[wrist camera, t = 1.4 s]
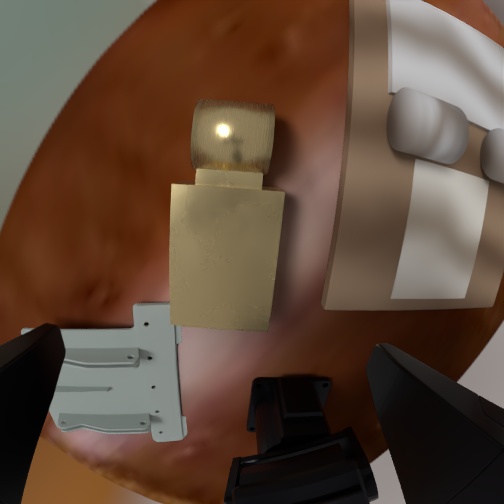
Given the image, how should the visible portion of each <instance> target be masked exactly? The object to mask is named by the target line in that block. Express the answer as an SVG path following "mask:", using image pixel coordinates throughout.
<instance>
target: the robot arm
mask: <svg viewBox="0 0 504 504" xmlns="http://www.w3.org/2000/svg"><path fill="white" fill-rule="evenodd" d="M65 355H66V349H65V345H64V341H63V337H62V334H61V330H60V328H59V326H57V325H54V324H49V323H45V324H43V325H41V326H39V327H37V328H35V329H33V330H31V331H29V332H27V333H25V334H23V335H21V336H19V337H17V338H15V339H13V340H11V341H9V342H7V343H5V344H3V345H1V346H0V504H21V501H22V496H23V492H24V488H25V484H26V480H27V476H28V473H29V469H30V465H31V462H32V458H33V455H34V452H35V449H36V446H37V442H38V439H39V436H40V433H41V430H42V427H43V425H44V422H45V419H46V416H47V413H48V411H49V408H50V405H51V403H52V400H53V397H54V393H55V390H56V386H57V382H58V379H59V375H60V372H61V369H62V365H63V362H64V359H65ZM366 373H367V377H368V381H369V385H370V389H371V393H372V397H373V401H374V405H375V409H376V413H377V416H378V419H379V422H380V425H381V428H382V431H383V434H384V437H385V439H386V442H387V445H388V448H389V451H390V454H391V457H392V460H393V463H394V466H395V470H396V473H397V476H398V479H399V482H400V485H401V489H402V492H403V495H404V499H405V502H406V504H504V409H503V408H501V407H499V406H497V405H496V404H494V403H492V402H490V401H488V400H486V399H485V398H483V397H481V396H478V395H477V394H476V393H474V392H472V391H471V390H469V389H467V388H465V387H463V386H462V385H460V384H458V383H457V382H455V381H453V380H451V379H450V378H448V377H446V376H445V375H443V374H441V373H439V372H438V371H436V370H434V369H432V368H431V367H429V366H427V365H425V364H424V363H422V362H420V361H419V360H417V359H415V358H413V357H412V356H410V355H408V354H407V353H405V352H403V351H401V350H400V349H398V348H396V347H395V346H393V345H391V344H389V343H381V344H376V345H375V346H374V348H373V351H372V353H371V356H370V358H369V361H368V363H367V367H366ZM324 383H326V384H324ZM256 384H260V385H256ZM330 387H331V382H330V379H329V378H294V379H276V378H257V379H254V380H253V382H252V388H251V395H250V403H249V411H248V419H247V431H249V432H256V439H257V450H258V454H257V455H252V456H247V457H242V458H241V457H236V458H233V461H232V466H231V468H230V473H229V478H228V483H227V488H226V492H225V497H224V504H370V503H369V502H371V501H374V500H376V499H378V490H377V485H376V482H375V478H374V475H373V472H372V469H371V466H370V464H369V461H368V459H367V457H366V455H365V453H364V451H363V449H362V447H361V445H360V443H359V441H358V439H357V437H356V435H355V433H354V431H353V430H352V428H351V427H348V428H346V429H344V430H343V431H340V432H338V433H335V434H331V431H330V428H329V425H328V422H327V419H326V416H325V413H324V410H323V408H324V405H325V402H326V399H327V396H328V393H329V390H330Z"/></svg>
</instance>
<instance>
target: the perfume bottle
mask: <svg viewBox="0 0 504 504" xmlns="http://www.w3.org/2000/svg"><path fill="white" fill-rule="evenodd" d="M274 128H275V108H274V105H271V104H262V103H252V102H241V101H227V100H209V99H199V100H198V101H197V104H196V107H195V112H194V117H193V124H192V134H191V163H192V168H193V169H196V181H179V182H176V183H173V184H172V190H171V213H170V256H169V285H170V325H177V326H188V327H200V328H213V329H228V330H246V331H268V330H269V322H270V315H271V307H272V299H273V291H274V283H275V275H276V267H277V259H278V251H279V242H280V234H281V225H282V216H283V207H284V198H285V192H284V191H282V190H281V189H279V188H277V187H267V186H262V181H263V174H265V175H266V174H267V173H268V170H269V166H270V161H271V155H272V148H273V139H274Z"/></svg>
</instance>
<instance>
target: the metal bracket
mask: <svg viewBox="0 0 504 504" xmlns="http://www.w3.org/2000/svg"><path fill="white" fill-rule="evenodd" d="M133 317H134V326H133V327H132V328H123V329H60V330H61V334H62V337H63V341H64V345H65V349H66V355H65V359H64V362H63V365H62V369H61V372H60V375H59V379H58V382H57V386H56V390H55V393H54V397H53V400H52V403H51V405H50V408H49V411H50V413H51V416H52V418H53V420H54V422H55V424H56V426H57V427H58V428H60V430H61V431H62V432H71V431H75V430H79V429H85V430H92V431H96V432H101V433H106V434H134V433H147V432H149V431H150V430H151V432H152V437H153V440H155V441H156V442H164V441H176V440H182V439H183V438H184V437H185V436H186V435H187V424H186V417H184V416H182V414H181V404H180V392H179V379H178V364H177V344H178V343H180V342H182V336H181V332H182V326H177V325H170V302H163V303H137V304H135V305H134V306H133ZM145 322H148V323H149V325H147V326H146V325H144V323H145ZM33 329H35V328H23V329H22V331H21V334H22V335H23V334H25V333H27V332H29V331H31V330H33ZM149 356H150V357H152V359H148V357H149ZM152 386H156V387H155V388H153V387H152ZM157 410H158V411H159V412H156V411H157ZM160 431H162V432H160Z"/></svg>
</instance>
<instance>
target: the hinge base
mask: <svg viewBox="0 0 504 504" xmlns="http://www.w3.org/2000/svg"><path fill="white" fill-rule="evenodd" d="M349 19H350V25H349V71H348V91H347V108H346V121H345V134H344V145H343V155H342V165H341V174H340V183H339V191H338V199H337V207H336V214H335V221H334V228H333V235H332V242H331V248H330V254H329V260H328V266H327V272H326V278H325V283H324V289H323V294H322V299H321V305H322V307H323V308H324V310H436V309H462V308H482V307H493V304H494V301H495V298H496V295H497V292H498V289H499V285H500V282H501V278H502V275H503V271H504V48H503V47H501V46H500V45H498V44H497V43H495V42H494V41H492V40H491V39H490V38H488V37H486V36H485V35H483V34H482V33H480V32H479V31H477V30H476V29H474V28H472V27H471V26H469V25H467V24H466V23H464V22H462V21H460V20H459V19H457V18H455V17H453V16H451V15H449V14H448V13H446V12H444V11H442V10H440V9H438V8H436V7H434V6H432V5H430V4H428V3H426V2H423V1H421V0H349Z"/></svg>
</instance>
